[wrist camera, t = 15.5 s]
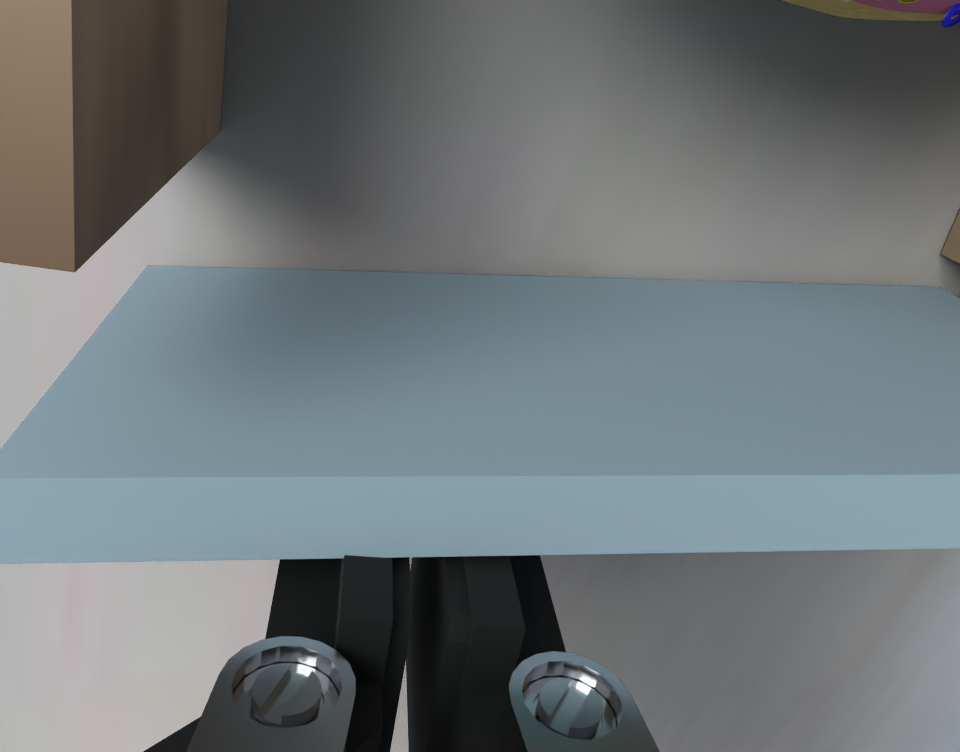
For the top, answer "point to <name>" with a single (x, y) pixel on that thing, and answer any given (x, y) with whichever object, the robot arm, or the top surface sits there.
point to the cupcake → (888, 9)
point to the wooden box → (108, 117)
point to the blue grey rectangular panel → (490, 420)
